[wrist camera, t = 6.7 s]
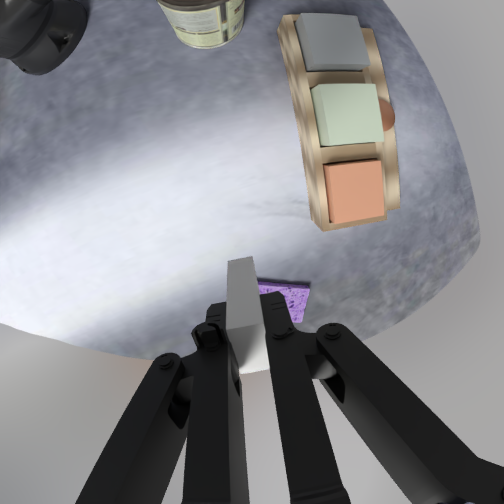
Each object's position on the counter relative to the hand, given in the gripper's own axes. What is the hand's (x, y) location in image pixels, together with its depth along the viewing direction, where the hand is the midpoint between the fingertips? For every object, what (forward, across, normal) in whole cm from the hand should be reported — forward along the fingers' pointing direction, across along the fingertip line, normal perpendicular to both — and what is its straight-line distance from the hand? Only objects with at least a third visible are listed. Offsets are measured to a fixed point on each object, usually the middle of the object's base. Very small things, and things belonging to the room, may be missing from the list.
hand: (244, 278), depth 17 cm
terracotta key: (+22, +15, 0) cm, 27 cm away
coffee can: (+25, +1, +28) cm, 38 cm away
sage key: (+20, +15, +10) cm, 27 cm away
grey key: (+20, +15, +20) cm, 32 cm away
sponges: (+25, +2, -18) cm, 31 cm away
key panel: (+24, +18, +10) cm, 32 cm away
